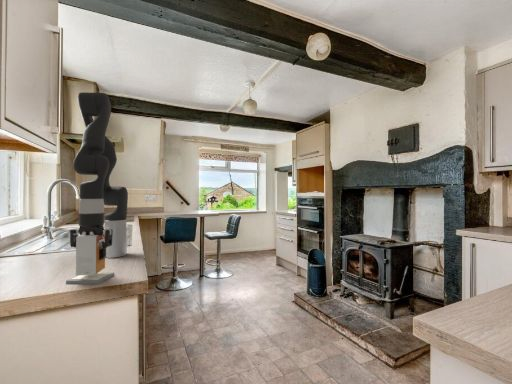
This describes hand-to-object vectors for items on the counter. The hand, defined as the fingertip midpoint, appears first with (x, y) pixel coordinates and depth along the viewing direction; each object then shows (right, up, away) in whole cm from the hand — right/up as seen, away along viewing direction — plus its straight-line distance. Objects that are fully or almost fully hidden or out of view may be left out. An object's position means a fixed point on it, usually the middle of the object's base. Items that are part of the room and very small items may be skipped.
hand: (91, 259), depth 90 cm
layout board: (0, -7, 0) cm, 7 cm away
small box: (0, -5, 0) cm, 5 cm away
